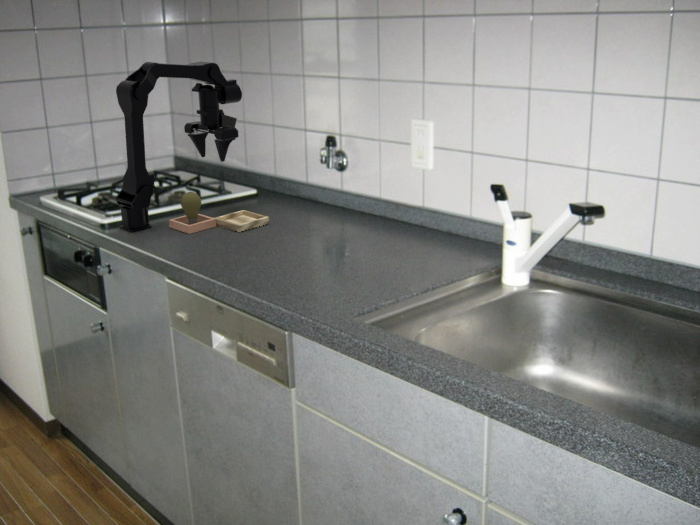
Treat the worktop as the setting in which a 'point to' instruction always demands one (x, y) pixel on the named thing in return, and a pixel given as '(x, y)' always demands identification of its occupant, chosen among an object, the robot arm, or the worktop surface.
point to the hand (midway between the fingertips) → (212, 159)
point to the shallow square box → (182, 224)
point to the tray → (241, 220)
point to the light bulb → (191, 206)
